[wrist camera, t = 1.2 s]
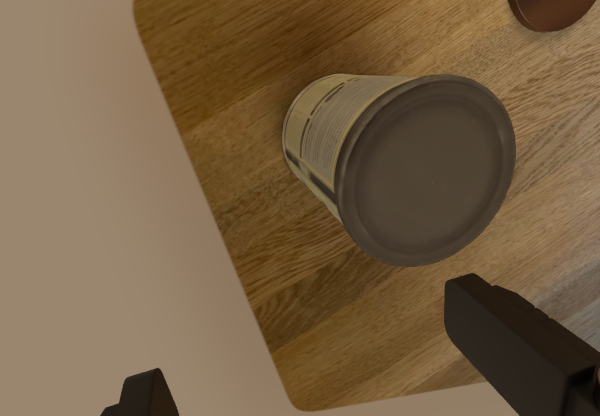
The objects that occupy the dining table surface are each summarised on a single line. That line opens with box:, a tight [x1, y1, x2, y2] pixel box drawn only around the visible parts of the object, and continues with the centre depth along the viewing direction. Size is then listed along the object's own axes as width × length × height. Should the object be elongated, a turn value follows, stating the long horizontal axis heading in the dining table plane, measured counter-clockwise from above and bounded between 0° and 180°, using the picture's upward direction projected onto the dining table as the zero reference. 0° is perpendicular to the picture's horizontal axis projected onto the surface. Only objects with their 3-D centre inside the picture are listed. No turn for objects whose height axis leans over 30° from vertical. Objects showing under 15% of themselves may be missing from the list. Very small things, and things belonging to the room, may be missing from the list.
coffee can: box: [282, 74, 516, 267], centre depth 25 cm, size 10×10×14 cm
